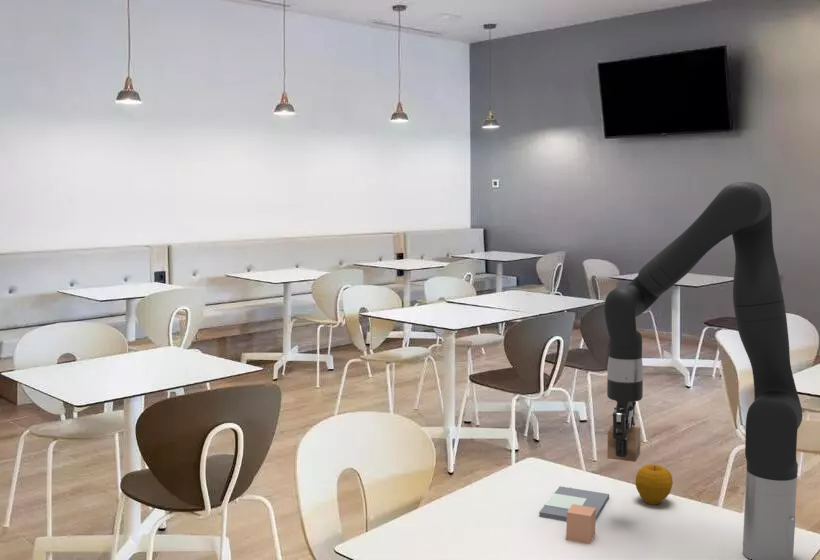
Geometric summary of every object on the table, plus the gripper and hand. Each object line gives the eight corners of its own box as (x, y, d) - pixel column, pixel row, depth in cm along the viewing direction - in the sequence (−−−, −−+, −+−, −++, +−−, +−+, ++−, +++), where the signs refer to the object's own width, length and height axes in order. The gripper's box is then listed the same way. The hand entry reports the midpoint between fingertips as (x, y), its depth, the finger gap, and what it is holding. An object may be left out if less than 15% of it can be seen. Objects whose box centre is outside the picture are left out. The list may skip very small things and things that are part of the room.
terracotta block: (595, 535, 172) (595, 507, 172) (589, 544, 168) (590, 516, 167) (571, 530, 175) (572, 504, 174) (566, 539, 170) (566, 512, 169)
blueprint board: (609, 498, 193) (609, 492, 193) (592, 525, 177) (592, 519, 177) (559, 490, 198) (559, 485, 198) (539, 516, 182) (539, 510, 182)
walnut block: (640, 453, 180) (640, 427, 180) (635, 461, 175) (635, 434, 174) (612, 450, 183) (613, 424, 182) (607, 458, 177) (607, 431, 177)
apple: (677, 509, 187) (679, 472, 186) (640, 509, 187) (642, 471, 186) (665, 495, 195) (667, 459, 194) (630, 495, 195) (631, 459, 194)
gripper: (637, 385, 169) (635, 463, 171) (647, 372, 182) (646, 445, 184) (600, 382, 172) (600, 459, 174) (614, 369, 185) (613, 441, 187)
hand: (623, 451), depth 179 cm, fingers closed on walnut block, 6 cm apart
